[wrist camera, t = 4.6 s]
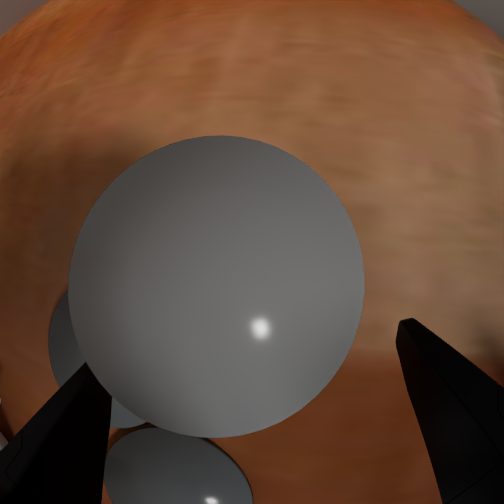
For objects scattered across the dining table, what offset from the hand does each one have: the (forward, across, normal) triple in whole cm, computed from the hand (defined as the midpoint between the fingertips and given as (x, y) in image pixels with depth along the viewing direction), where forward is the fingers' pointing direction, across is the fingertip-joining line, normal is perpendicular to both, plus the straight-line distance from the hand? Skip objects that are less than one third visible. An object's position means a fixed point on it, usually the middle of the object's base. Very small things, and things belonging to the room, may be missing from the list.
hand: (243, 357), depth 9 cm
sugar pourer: (+8, 0, +5) cm, 9 cm away
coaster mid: (0, +7, +13) cm, 15 cm away
